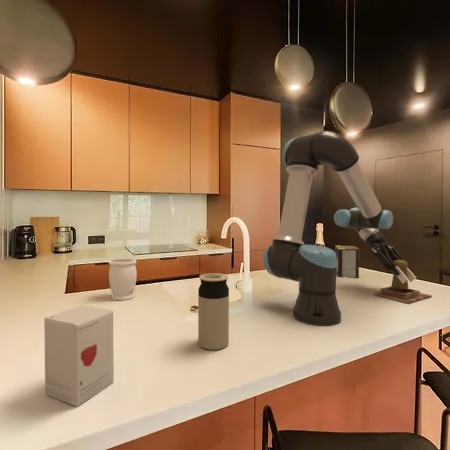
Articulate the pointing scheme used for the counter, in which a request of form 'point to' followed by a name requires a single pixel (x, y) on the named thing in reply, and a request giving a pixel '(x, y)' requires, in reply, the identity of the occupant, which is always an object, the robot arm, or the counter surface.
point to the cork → (396, 281)
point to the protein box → (347, 261)
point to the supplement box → (78, 353)
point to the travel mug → (213, 311)
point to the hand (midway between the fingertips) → (409, 280)
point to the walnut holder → (402, 295)
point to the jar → (122, 278)
